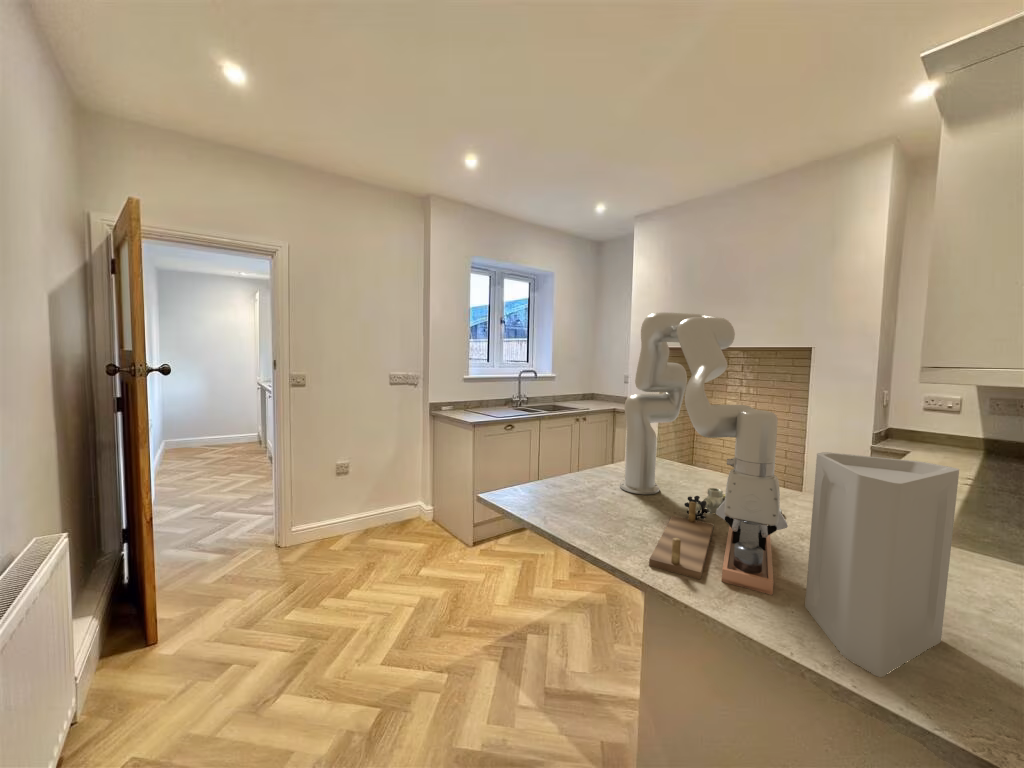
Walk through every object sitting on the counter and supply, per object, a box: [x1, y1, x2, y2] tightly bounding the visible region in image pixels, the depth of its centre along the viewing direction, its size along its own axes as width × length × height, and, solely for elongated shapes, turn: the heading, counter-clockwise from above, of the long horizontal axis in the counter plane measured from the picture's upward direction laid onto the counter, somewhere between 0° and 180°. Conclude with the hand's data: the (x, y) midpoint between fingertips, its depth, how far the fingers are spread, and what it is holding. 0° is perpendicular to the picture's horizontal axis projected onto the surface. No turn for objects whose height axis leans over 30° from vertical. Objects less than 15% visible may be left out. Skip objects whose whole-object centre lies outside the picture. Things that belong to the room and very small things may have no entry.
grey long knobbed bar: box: [734, 520, 763, 574], centre depth 91 cm, size 21×5×4 cm, turn 150°
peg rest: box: [648, 501, 714, 580], centre depth 97 cm, size 28×10×6 cm, turn 150°
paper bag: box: [804, 451, 960, 678], centre depth 68 cm, size 19×15×28 cm
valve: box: [683, 487, 724, 521], centre depth 117 cm, size 7×7×12 cm
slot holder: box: [721, 525, 775, 596], centre depth 91 cm, size 25×9×3 cm, turn 150°
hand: (748, 549), depth 91 cm, fingers closed on grey long knobbed bar, 3 cm apart
